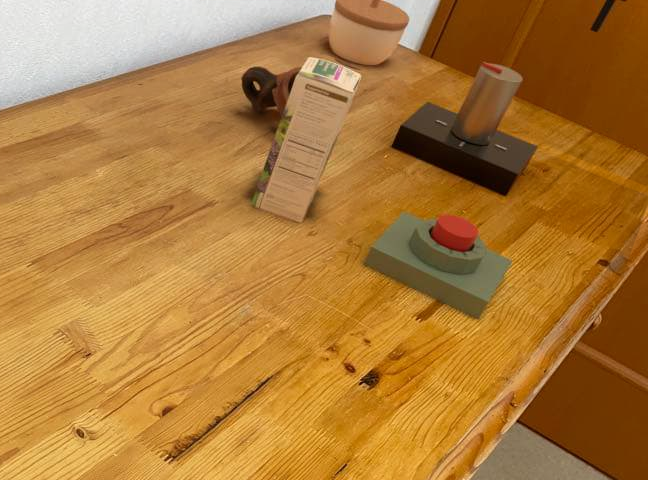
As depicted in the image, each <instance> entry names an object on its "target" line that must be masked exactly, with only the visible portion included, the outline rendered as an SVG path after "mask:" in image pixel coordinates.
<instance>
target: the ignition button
mask: <svg viewBox="0 0 648 480" xmlns="http://www.w3.org/2000/svg"><path fill="white" fill-rule="evenodd" d="M437 219H438V220H437V222H436V224H435V226H434V228H433V230H432V232H431V234H430V236H431V238H432V239H433V240H434V241H435V242H437V243H438V244H439V245H441V246H443V247H446V248H448V249H450V250H453V251H458V252H467V251H469V250H470V248H471V246H472V244H473V243H474V241H475V239H476V237H477V236H479V230H478V228H477V227H476V226H475V225H474V224H473V223H472V222H470V221H469V220H467V219H466V218H463V217H461V216H457V215H452V214H443V215H440V216H439V217H438V218H437Z"/></svg>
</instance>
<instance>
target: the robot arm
mask: <svg viewBox="0 0 648 480" xmlns="http://www.w3.org/2000/svg"><path fill="white" fill-rule="evenodd" d="M616 1H617V0H605V2H604V4H603V5H602V7H601V9H600V11H599V13H598V14H597V16H596V18H595V19H594V21H593V23H592V24H591V25H592V26H591V27H590V29H589V30H590V31H593V32H595V33H598V32H599V30H600V29H601V28H602V26H603V24H604V22H605V21H606V19H607V17H608V15H609V14H610V12H611V10H612V9H613V7H614V5H615V3H616ZM620 1H621V2H624V3H626V2H627V1H628V0H620Z"/></svg>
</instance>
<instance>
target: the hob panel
mask: <svg viewBox="0 0 648 480" xmlns="http://www.w3.org/2000/svg"><path fill="white" fill-rule="evenodd" d="M457 115H458V113H457V112H454V111H451V110H449V109H447V108H445V107H442V106H440V105H437V104H435V103H432V102H430V101H426V102H425V103H424V104H423V105H422V106H420V108H418V109H416V111H415V112H414V113H412V114H411V115H410V116H409V117H408V118H406V120H404V121H403V122H402V123H401V124H400V125H399V127H398V129H397V132H396V134H395V137H394V139H393V142H392V143H391V148H392V149H395V150H397V151H399V152H402V153H404V154H406V155H409V156H411V157H413V158H416V159H418V160H420V161H423V162H425V163H427V164H430V165H432V166H434V167H437V168H439V169H442V170H444V171H446V172H449V173H451V174H453V175H455V176H457V177H459V178H462V179H465V180H466V181H470V182H471V183H474V184H476V185H479V186H481V187H482V188H485V189H488V190H489V191H492V192H495V193H497V194H499V195H502V196H504V197H507V196H508V194H509V193H510V191H511V190H512V189H513V187H514V185H515V184H516V183H517V181H518V180H519V179H520V177H521V176H522V174H523V173H524V171H525V170H526V169H527V167H528V165H529V163H530V162H531V160H532V159H533V157H534V155H535V153H536V151H537V149H539V148H538V146H537V145H536V144H533V143H530V142H528V141H526V140H523V139H521V138H518V137H515V136H513V135H512V134H511V135H510V134H508V133H506V132H503V131H501V130H499V129H497V130H496V132H495V134H494V136H493V138H492V140H491V142H490V143H489V144H487V145H478V144H473V143H469V142H467V141H464V140H462V139H460V138H458V137H457V136H456V135H454V134H453V133H452V131H451V127H452V125H453V123H454V121H455V119H456V117H457Z"/></svg>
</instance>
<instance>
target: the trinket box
mask: <svg viewBox="0 0 648 480" xmlns="http://www.w3.org/2000/svg"><path fill="white" fill-rule="evenodd" d="M409 22H410V16H409V14H408V13H407V12H406V11H405V10H403V9H402V8H400V7H398V6H397V5H395V4H393V3H390V2H388V1H385V0H336V1H335V4H334V9H333V11H332V15H331V18H330V21H329V25H328V43H329V47H330V50H331V51H332V52H333V53H334V54H335V55H336V56H338V57H339V58H341V59H344V60H345V61H348V62H351V63H355V64H359V65H363V66H379V65H380V64H382V63H383V62H384V61H386V60H387V59H388V58H389V57H390V56H391V55H392V54H393V53H394V52H395V50H396V48H397V47H398V45H399V43H400V41H401V39H402V37H403V35H404V33H405V30H406V28H407V27H408V25H409ZM334 60H335V61H336V62H337V63H339V65H341V66H344V67H346V68H349V69H353V70H358V71H361V69H360V68H358V67H355V66H353V65H351V64H348V63H345V62H343V61H341V60H338V59H335V58H334Z"/></svg>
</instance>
